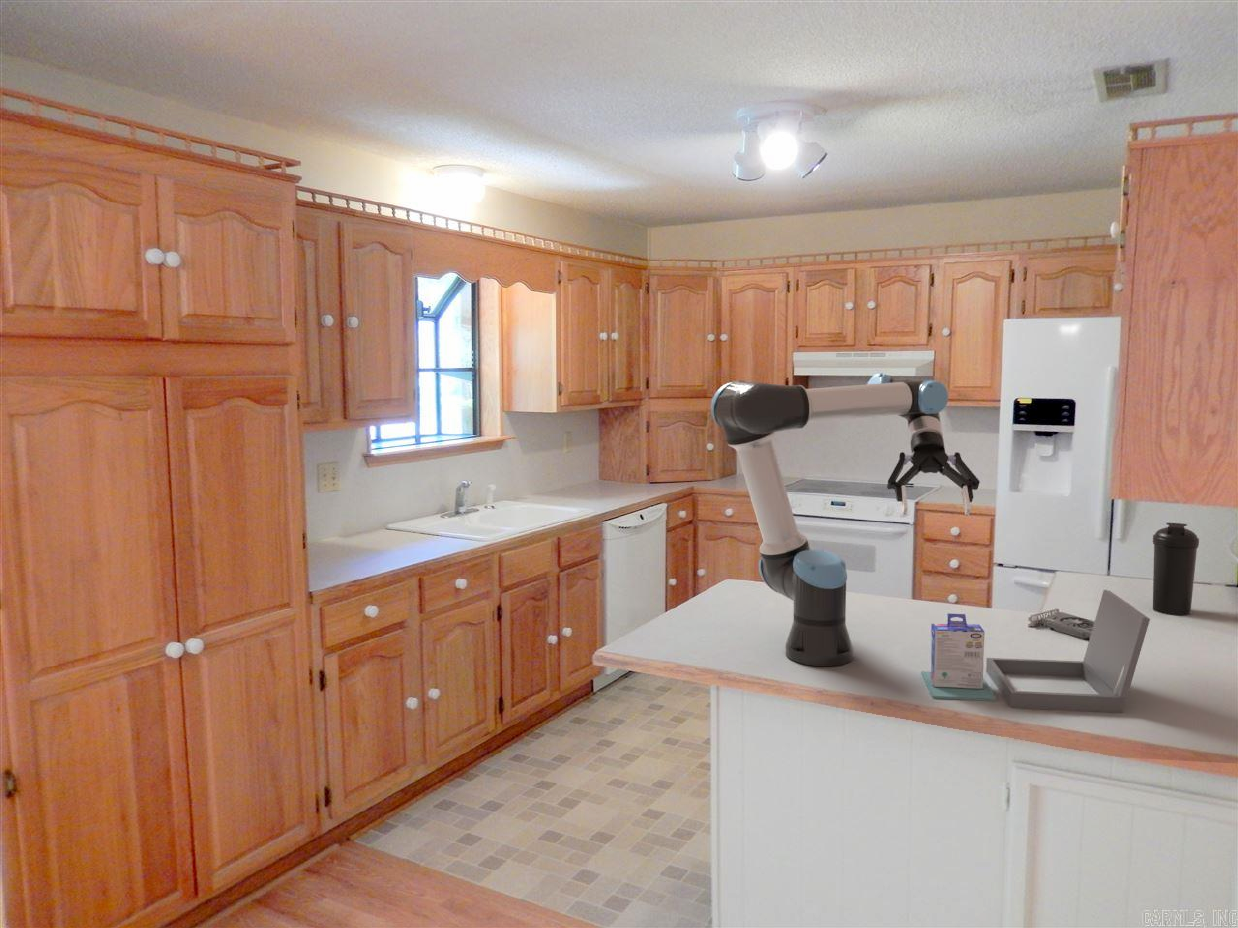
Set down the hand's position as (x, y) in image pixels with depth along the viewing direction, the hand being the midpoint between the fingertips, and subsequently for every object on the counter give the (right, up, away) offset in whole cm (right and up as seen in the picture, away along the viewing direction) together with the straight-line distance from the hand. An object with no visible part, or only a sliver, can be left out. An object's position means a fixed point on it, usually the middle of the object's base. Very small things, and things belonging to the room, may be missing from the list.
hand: (936, 512), depth 200 cm
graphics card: (+39, -31, +17) cm, 53 cm away
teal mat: (-2, -35, -17) cm, 39 cm away
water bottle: (+73, -28, +32) cm, 85 cm away
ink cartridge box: (-2, -35, -17) cm, 39 cm away
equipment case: (+18, -35, -21) cm, 44 cm away
